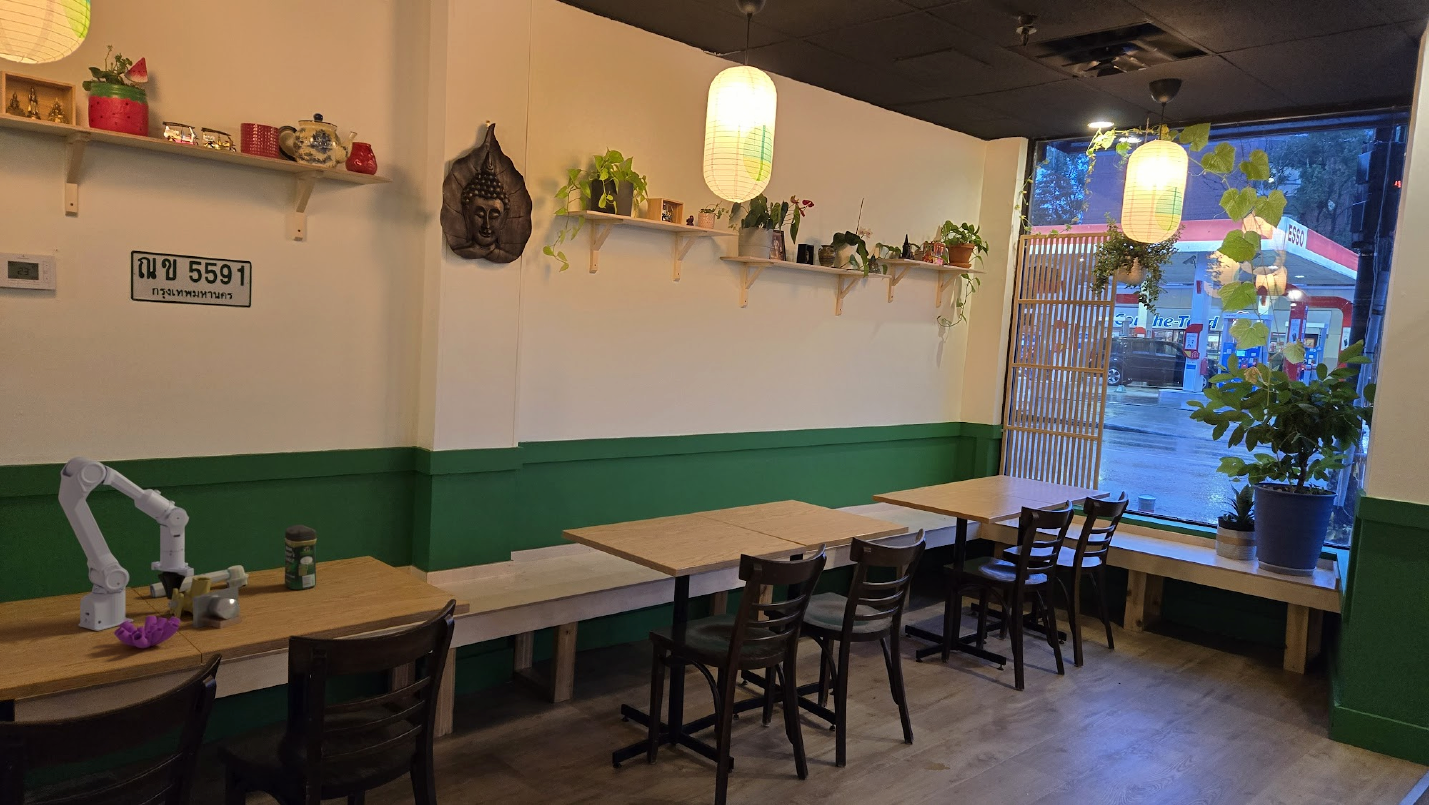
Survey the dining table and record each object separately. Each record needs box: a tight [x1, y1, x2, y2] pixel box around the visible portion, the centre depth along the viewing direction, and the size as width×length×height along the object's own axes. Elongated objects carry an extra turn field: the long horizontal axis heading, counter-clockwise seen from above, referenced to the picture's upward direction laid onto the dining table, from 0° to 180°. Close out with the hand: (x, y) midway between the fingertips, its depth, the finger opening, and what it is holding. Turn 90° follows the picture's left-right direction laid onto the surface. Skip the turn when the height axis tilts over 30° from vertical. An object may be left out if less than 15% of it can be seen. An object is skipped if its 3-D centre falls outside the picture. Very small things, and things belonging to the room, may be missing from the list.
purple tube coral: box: [113, 615, 181, 649], centre depth 226 cm, size 11×15×10 cm
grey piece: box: [149, 564, 250, 599], centre depth 272 cm, size 5×7×25 cm
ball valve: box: [167, 576, 212, 620], centre depth 250 cm, size 13×10×10 cm
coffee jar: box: [284, 524, 318, 591], centre depth 280 cm, size 10×8×19 cm
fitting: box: [192, 586, 243, 629], centre depth 244 cm, size 12×7×8 cm, turn 156°
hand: (172, 598), depth 252 cm, fingers closed
